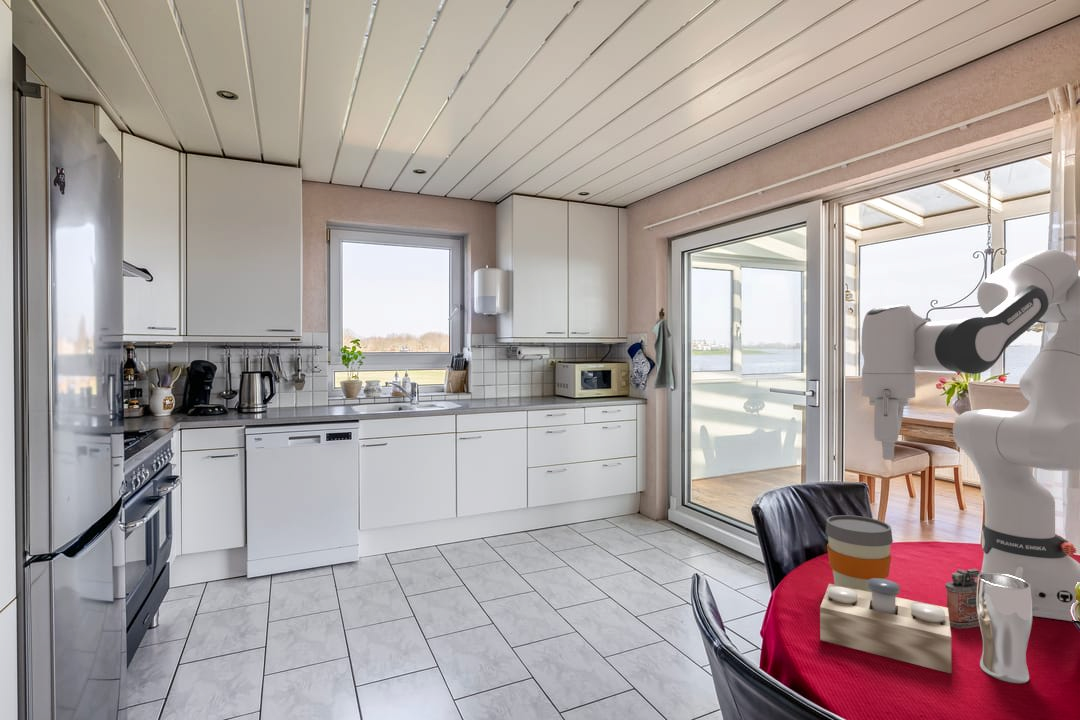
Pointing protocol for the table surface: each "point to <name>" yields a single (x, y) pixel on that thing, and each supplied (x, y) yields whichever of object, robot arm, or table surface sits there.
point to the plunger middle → (883, 595)
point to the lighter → (962, 599)
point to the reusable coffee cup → (858, 550)
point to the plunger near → (928, 613)
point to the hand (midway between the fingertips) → (888, 458)
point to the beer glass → (1004, 625)
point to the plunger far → (842, 595)
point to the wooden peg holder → (887, 631)
